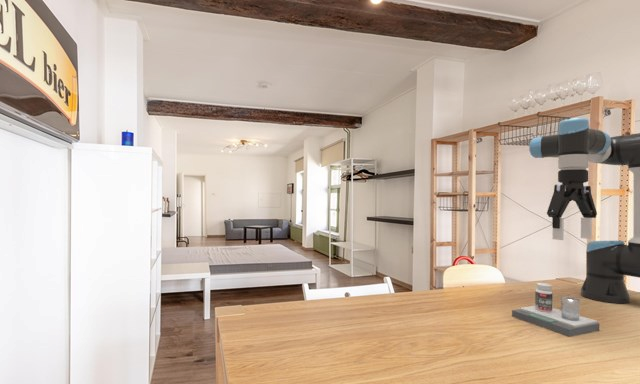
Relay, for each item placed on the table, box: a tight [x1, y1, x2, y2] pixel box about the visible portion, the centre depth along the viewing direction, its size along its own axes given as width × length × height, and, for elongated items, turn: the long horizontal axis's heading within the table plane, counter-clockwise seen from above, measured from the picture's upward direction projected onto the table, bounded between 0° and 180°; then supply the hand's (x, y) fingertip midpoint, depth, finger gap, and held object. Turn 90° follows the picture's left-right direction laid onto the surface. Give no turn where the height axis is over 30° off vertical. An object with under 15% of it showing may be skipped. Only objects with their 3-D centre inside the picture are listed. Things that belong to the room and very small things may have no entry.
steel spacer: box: [560, 296, 580, 321], centre depth 106 cm, size 4×4×6 cm
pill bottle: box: [534, 282, 553, 312], centre depth 113 cm, size 5×5×8 cm
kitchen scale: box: [511, 305, 600, 338], centre depth 109 cm, size 14×18×3 cm
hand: (572, 239), depth 106 cm, fingers open, 13 cm apart
